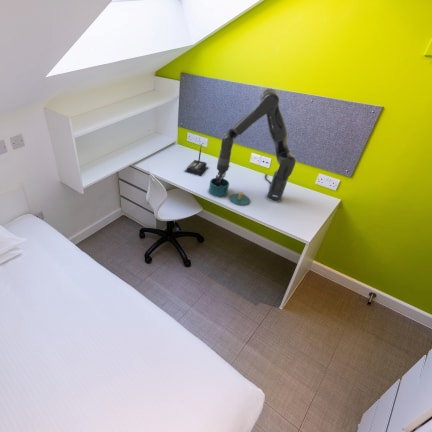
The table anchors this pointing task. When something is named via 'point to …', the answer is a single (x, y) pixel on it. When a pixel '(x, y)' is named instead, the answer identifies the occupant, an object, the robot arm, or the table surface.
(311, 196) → the table surface
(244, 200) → the lid
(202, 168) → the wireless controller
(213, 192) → the tin
